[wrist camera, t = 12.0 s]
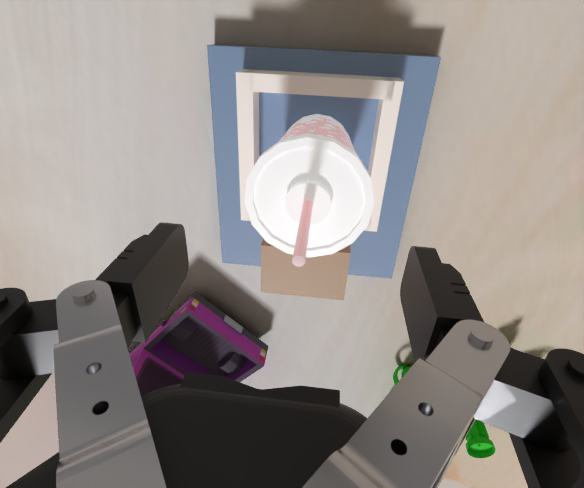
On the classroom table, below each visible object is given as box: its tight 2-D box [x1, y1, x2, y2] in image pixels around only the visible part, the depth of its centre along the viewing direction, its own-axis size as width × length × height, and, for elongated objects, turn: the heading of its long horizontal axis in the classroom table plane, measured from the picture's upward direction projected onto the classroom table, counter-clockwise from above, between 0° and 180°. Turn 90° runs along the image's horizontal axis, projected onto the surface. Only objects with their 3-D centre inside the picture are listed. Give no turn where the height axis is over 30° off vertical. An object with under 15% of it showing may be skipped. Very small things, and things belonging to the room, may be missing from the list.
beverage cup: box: [244, 114, 374, 267], centre depth 19 cm, size 6×6×14 cm
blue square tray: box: [207, 44, 441, 300], centre depth 25 cm, size 16×14×6 cm
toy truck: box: [129, 292, 268, 397], centre depth 34 cm, size 11×16×10 cm
